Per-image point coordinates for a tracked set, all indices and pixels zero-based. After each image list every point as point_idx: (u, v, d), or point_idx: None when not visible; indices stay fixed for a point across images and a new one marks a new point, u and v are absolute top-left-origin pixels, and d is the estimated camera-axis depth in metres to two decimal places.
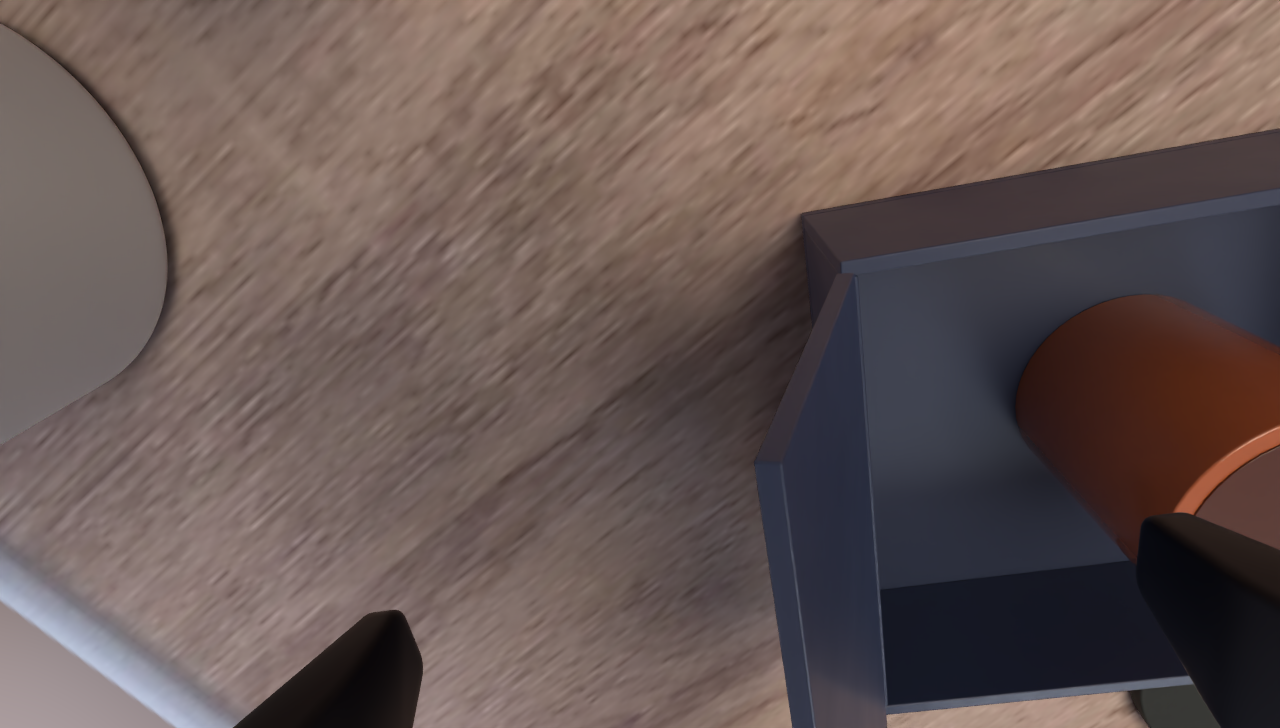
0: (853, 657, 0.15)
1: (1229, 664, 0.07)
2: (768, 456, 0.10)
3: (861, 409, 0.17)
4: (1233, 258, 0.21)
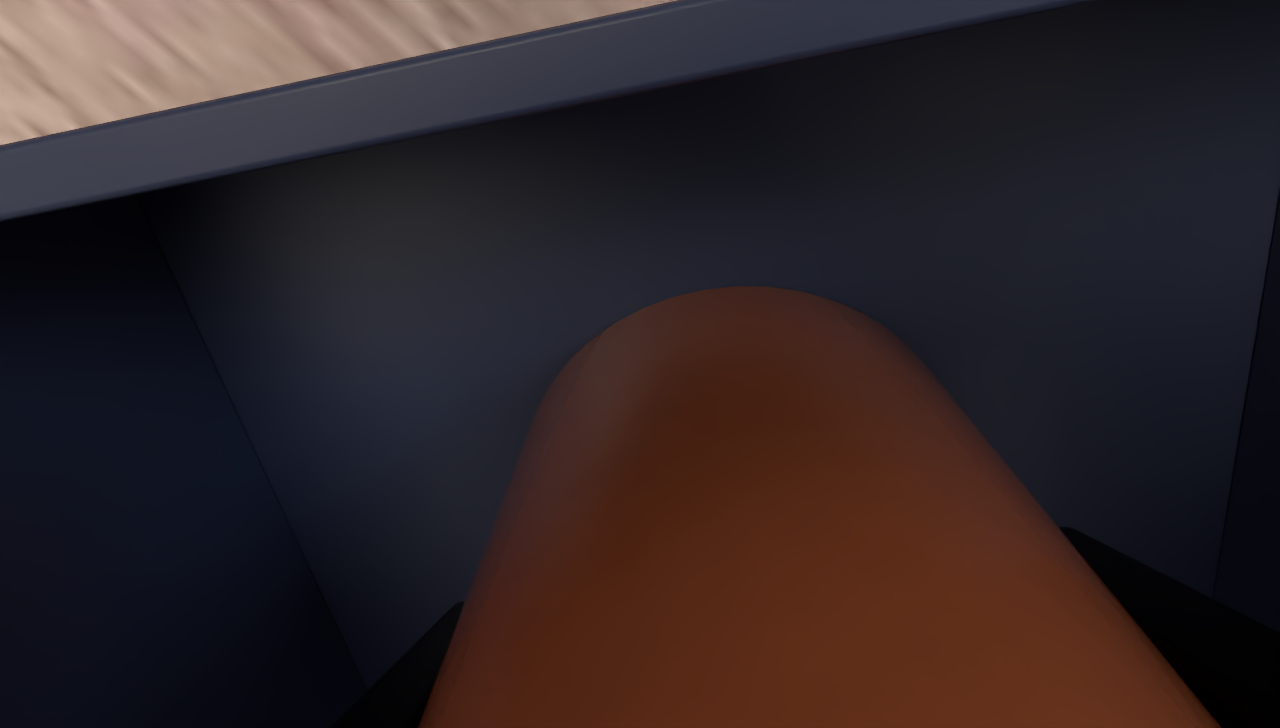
0: None
1: None
2: None
3: None
4: (433, 357, 0.10)
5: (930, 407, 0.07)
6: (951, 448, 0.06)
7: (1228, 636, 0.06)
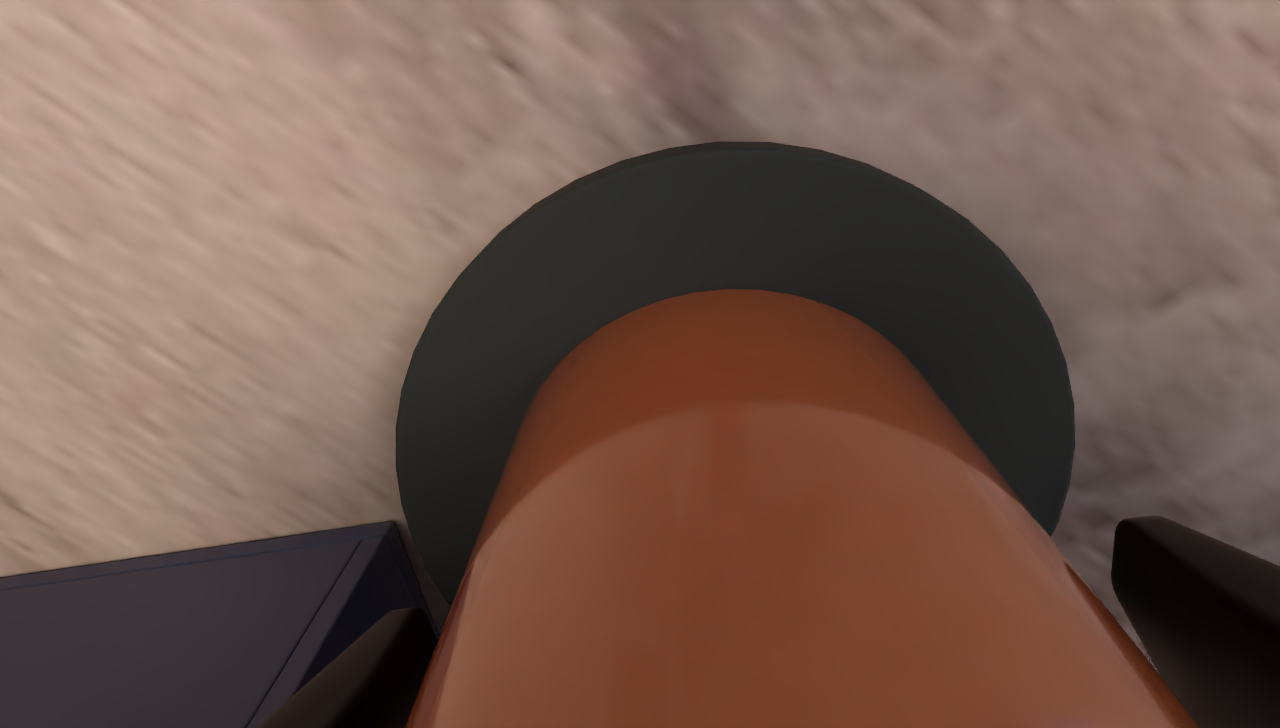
0: None
1: (1199, 667, 0.07)
2: None
3: None
4: None
5: (917, 410, 0.07)
6: (937, 453, 0.06)
7: None
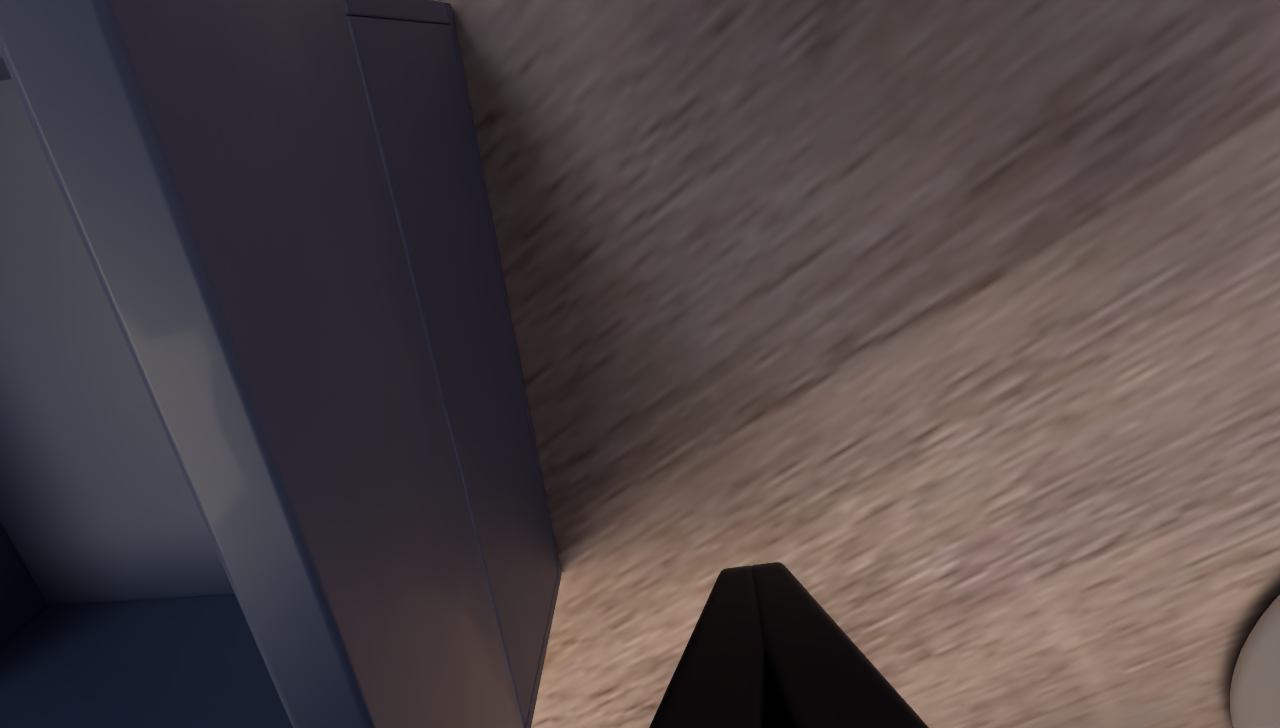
0: None
1: None
2: None
3: None
4: (102, 511, 0.20)
5: None
6: None
7: (834, 678, 0.06)
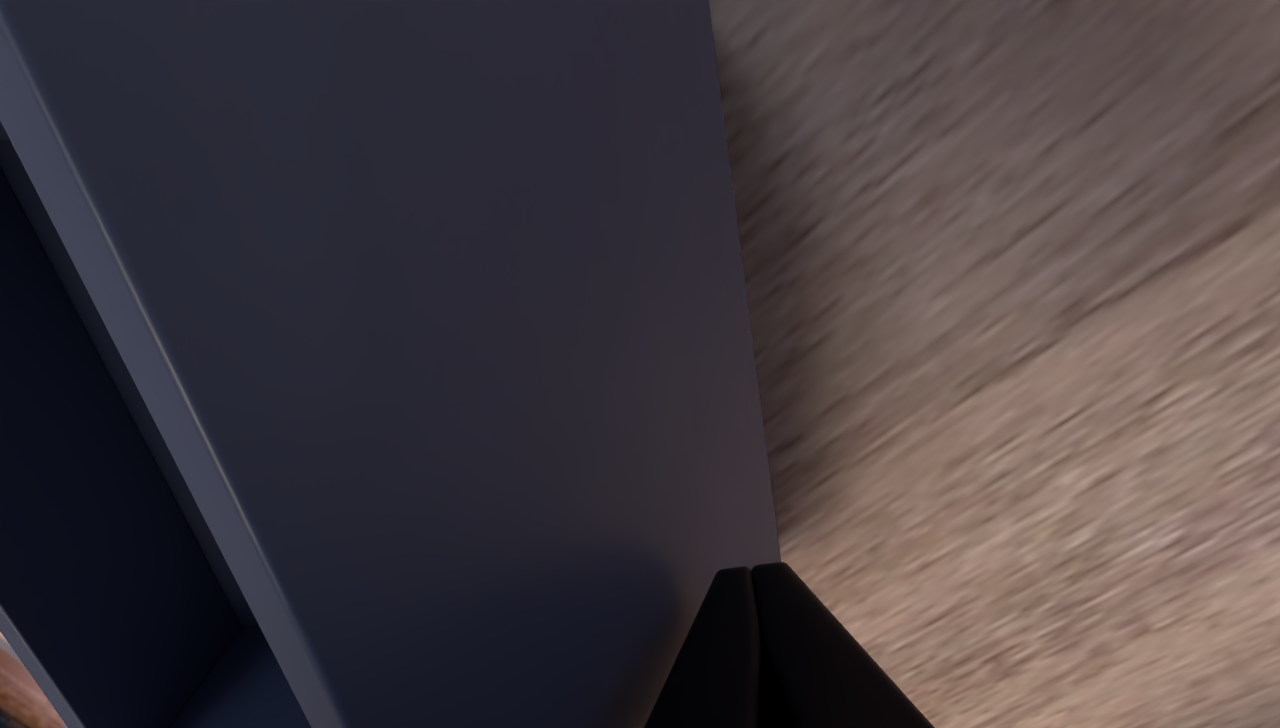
0: None
1: (775, 710, 0.07)
2: None
3: None
4: None
5: None
6: None
7: (839, 678, 0.06)
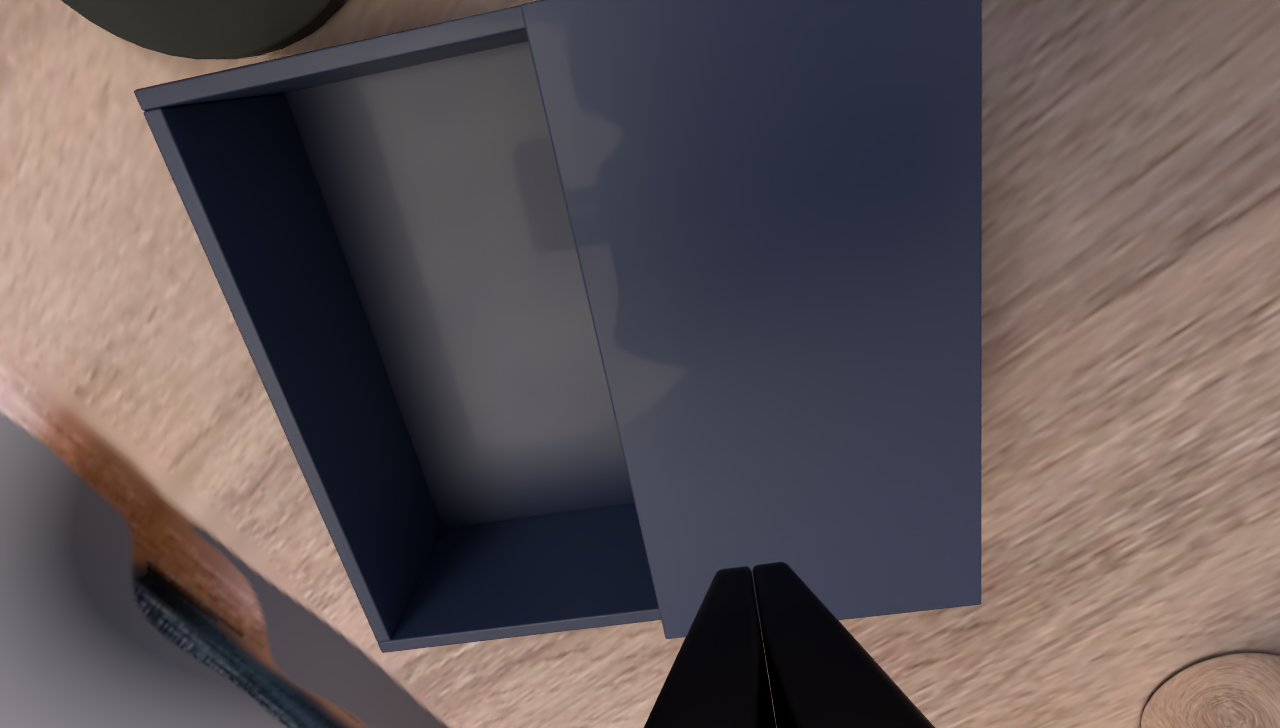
0: None
1: (775, 710, 0.07)
2: None
3: None
4: (507, 435, 0.23)
5: None
6: None
7: (839, 677, 0.06)
